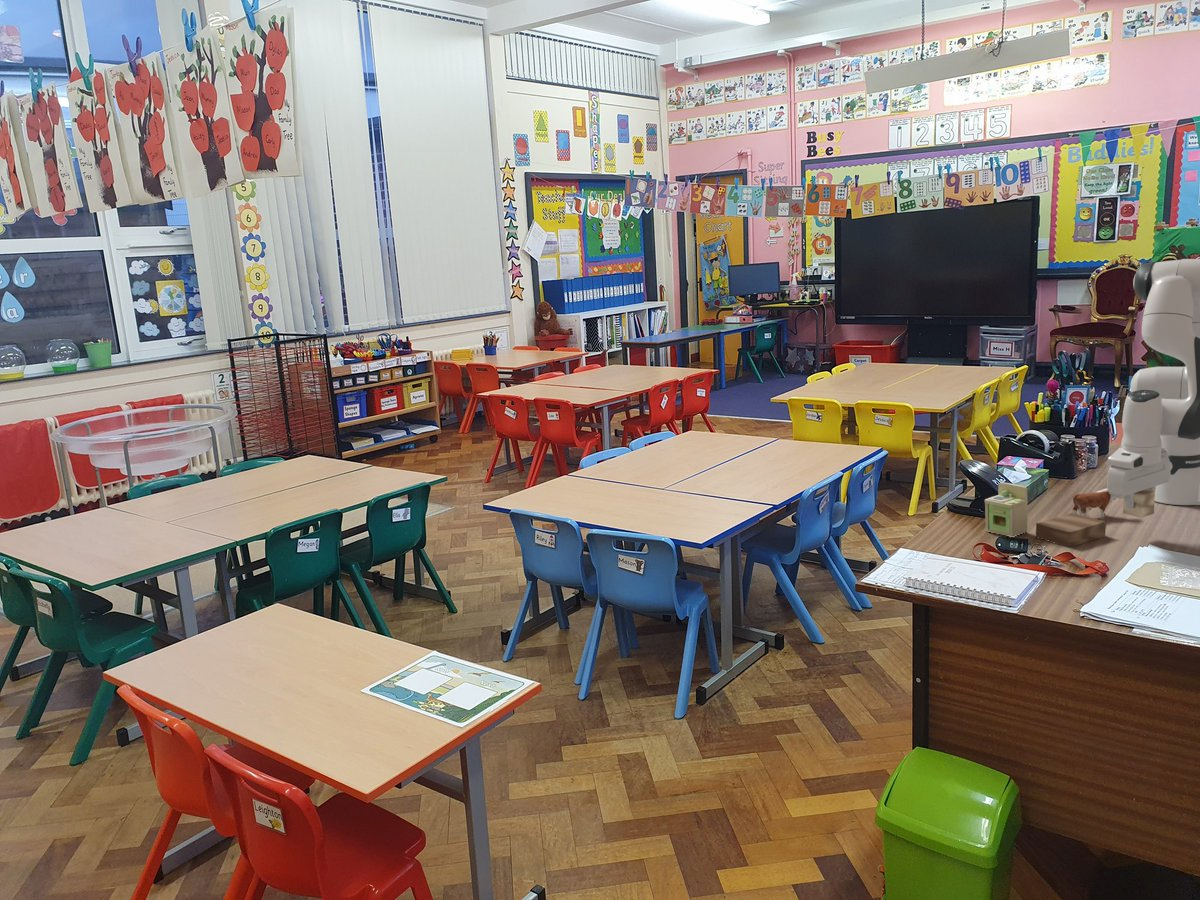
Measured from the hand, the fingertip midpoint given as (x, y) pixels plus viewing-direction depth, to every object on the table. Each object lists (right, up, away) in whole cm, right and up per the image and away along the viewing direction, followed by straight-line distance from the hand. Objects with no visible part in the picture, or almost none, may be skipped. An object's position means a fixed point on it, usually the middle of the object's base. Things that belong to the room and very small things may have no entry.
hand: (1138, 505), depth 231 cm
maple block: (0, -2, 0) cm, 2 cm away
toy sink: (-28, -8, +14) cm, 33 cm away
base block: (-14, -9, +6) cm, 18 cm away
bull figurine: (+1, -5, +21) cm, 22 cm away
